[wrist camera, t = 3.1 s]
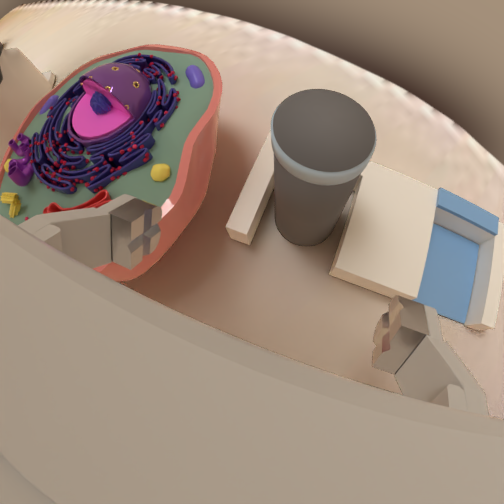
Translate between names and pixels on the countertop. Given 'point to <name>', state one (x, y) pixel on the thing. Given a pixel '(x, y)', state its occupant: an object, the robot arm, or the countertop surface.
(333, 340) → the countertop surface
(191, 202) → the cell model
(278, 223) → the stub
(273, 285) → the countertop surface
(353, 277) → the cream holder tray
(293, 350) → the countertop surface
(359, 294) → the countertop surface
